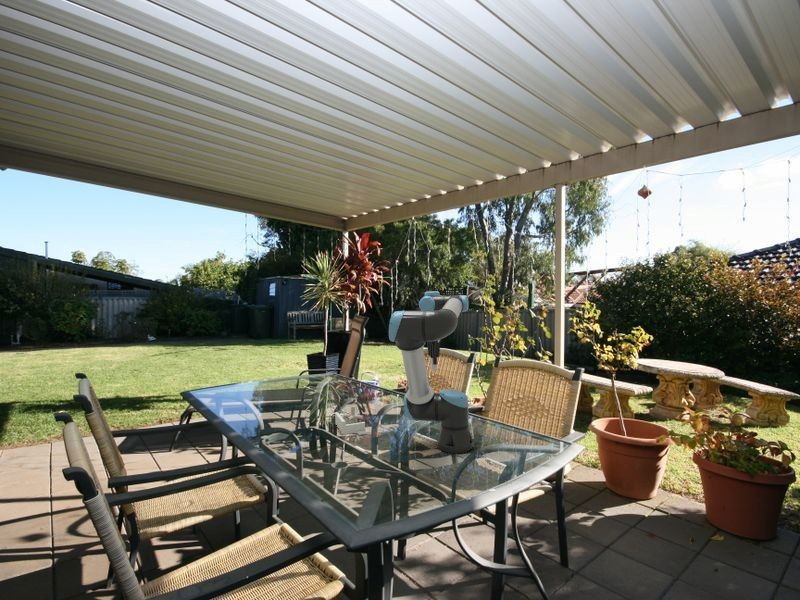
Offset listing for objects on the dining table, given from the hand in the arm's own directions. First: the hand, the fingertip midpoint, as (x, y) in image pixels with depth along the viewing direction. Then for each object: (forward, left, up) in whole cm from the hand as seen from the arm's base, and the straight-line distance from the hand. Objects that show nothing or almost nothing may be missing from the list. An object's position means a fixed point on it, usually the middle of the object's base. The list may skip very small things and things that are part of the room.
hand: (434, 370), depth 209 cm
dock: (+13, +40, -26) cm, 50 cm away
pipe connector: (+14, +38, -27) cm, 48 cm away
